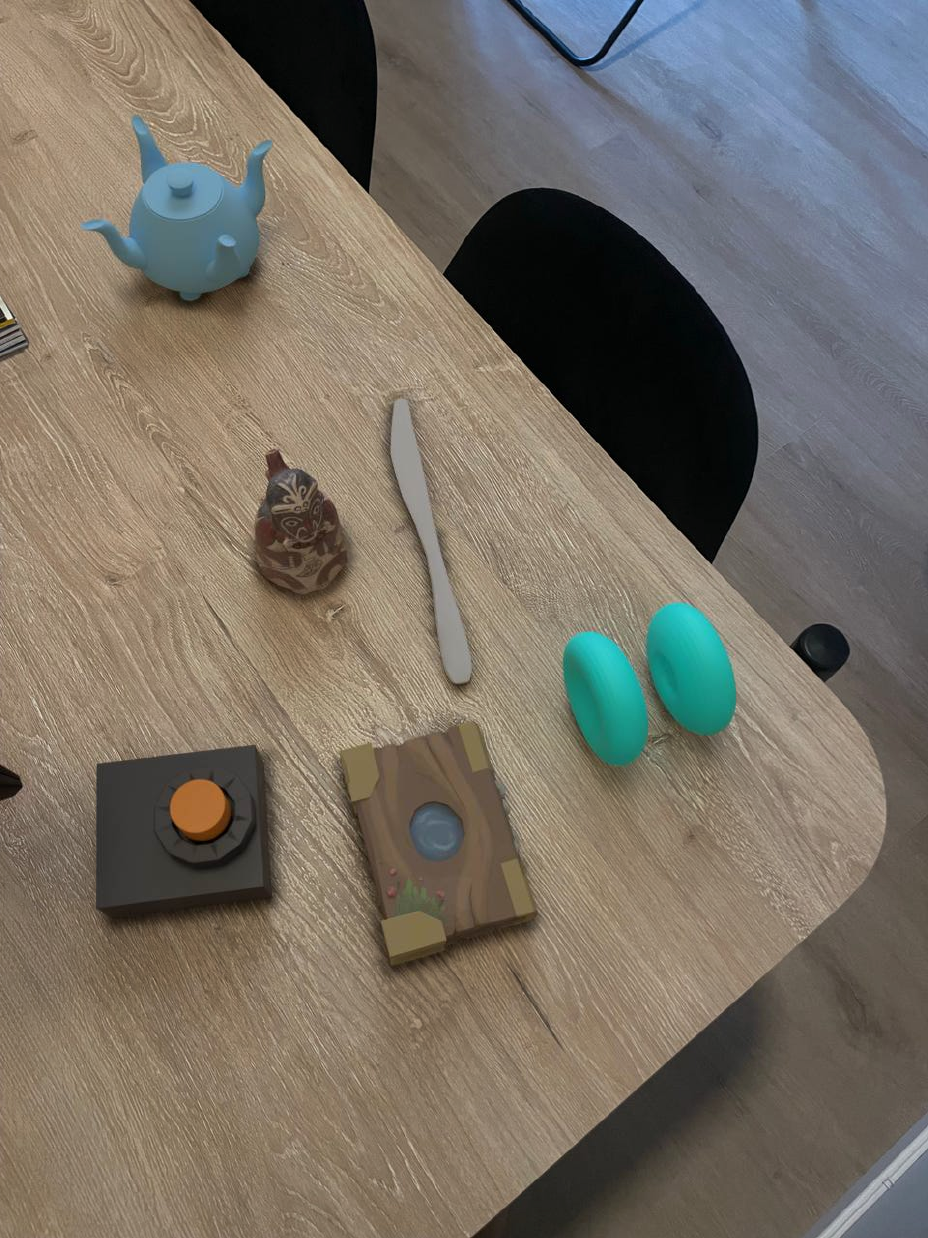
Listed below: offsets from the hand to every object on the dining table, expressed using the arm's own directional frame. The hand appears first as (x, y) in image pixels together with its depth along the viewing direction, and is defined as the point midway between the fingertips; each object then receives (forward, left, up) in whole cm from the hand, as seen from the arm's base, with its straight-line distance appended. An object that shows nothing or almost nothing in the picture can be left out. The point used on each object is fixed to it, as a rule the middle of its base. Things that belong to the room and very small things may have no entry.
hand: (17, 786), depth 65 cm
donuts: (+41, -8, -13) cm, 44 cm away
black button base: (+7, -3, -13) cm, 15 cm away
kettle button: (+9, -4, -8) cm, 12 cm away
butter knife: (+33, +12, -13) cm, 37 cm away
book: (+23, -11, -13) cm, 29 cm away
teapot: (+26, +47, -13) cm, 55 cm away
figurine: (+23, +15, -13) cm, 30 cm away
